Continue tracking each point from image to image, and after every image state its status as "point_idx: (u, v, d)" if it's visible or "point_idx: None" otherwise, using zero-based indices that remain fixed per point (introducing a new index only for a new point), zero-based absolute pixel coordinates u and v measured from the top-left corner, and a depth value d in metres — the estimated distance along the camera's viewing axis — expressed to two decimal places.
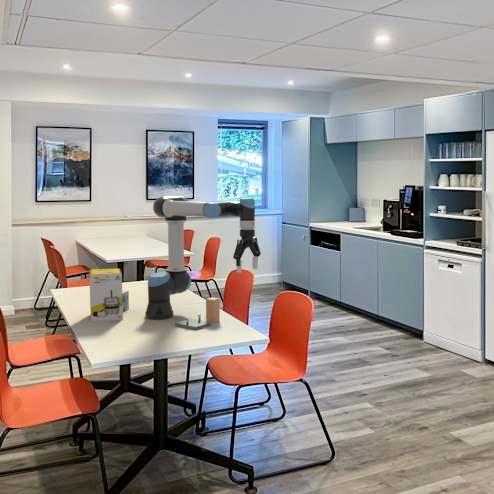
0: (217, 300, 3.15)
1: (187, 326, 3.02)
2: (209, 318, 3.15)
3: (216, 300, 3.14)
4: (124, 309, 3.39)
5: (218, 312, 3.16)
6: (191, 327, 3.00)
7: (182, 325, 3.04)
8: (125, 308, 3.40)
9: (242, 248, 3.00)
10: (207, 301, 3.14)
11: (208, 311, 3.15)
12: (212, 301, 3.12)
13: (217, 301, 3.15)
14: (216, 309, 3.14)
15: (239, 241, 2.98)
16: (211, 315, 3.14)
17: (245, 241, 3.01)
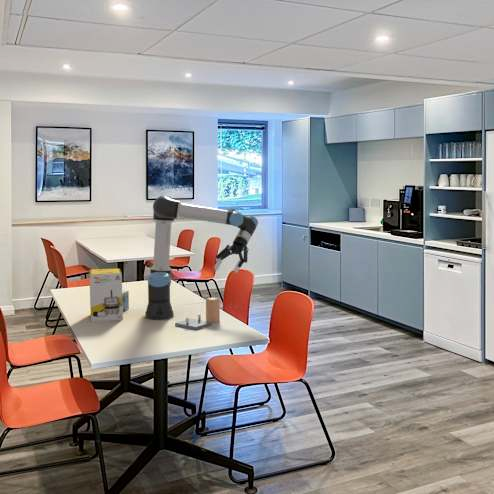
0: (217, 300, 3.15)
1: (187, 326, 3.02)
2: (209, 318, 3.15)
3: (216, 300, 3.14)
4: (124, 309, 3.39)
5: (218, 312, 3.16)
6: (191, 327, 3.00)
7: (182, 325, 3.04)
8: (125, 308, 3.40)
9: (241, 254, 3.28)
10: (207, 301, 3.14)
11: (208, 311, 3.15)
12: (212, 301, 3.12)
13: (217, 301, 3.15)
14: (216, 309, 3.14)
15: (247, 249, 3.28)
16: (211, 315, 3.14)
17: None
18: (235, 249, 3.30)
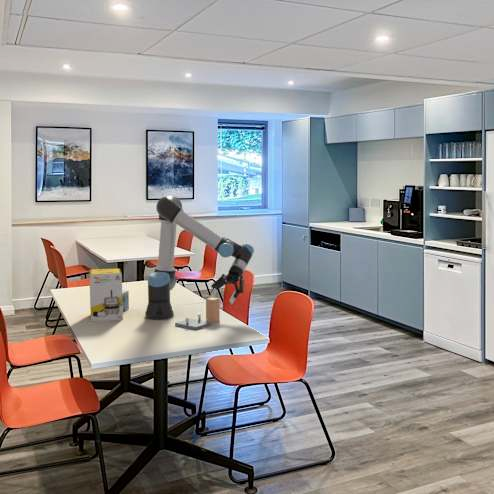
0: (217, 300, 3.15)
1: (187, 326, 3.02)
2: (209, 318, 3.15)
3: (216, 300, 3.14)
4: (124, 309, 3.39)
5: (218, 312, 3.16)
6: (191, 327, 3.00)
7: (182, 325, 3.04)
8: (125, 308, 3.40)
9: (237, 284, 3.22)
10: (207, 301, 3.14)
11: (208, 311, 3.15)
12: (212, 301, 3.12)
13: (217, 301, 3.15)
14: (216, 309, 3.14)
15: (243, 279, 3.22)
16: (211, 315, 3.14)
17: None
18: (231, 279, 3.25)
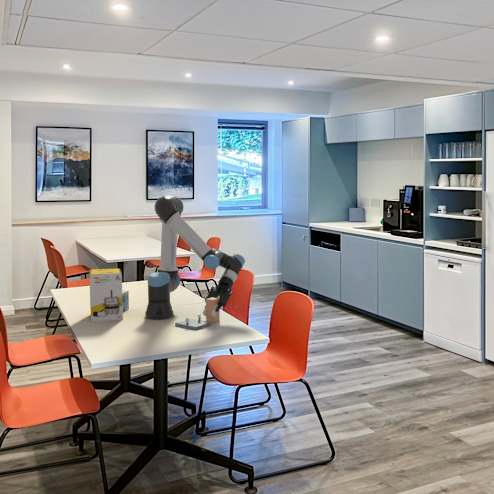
0: (217, 300, 3.15)
1: (187, 326, 3.02)
2: (209, 318, 3.15)
3: (216, 300, 3.14)
4: (124, 309, 3.39)
5: (218, 312, 3.16)
6: (191, 327, 3.00)
7: (182, 325, 3.04)
8: (125, 308, 3.40)
9: (223, 296, 3.18)
10: (207, 301, 3.14)
11: (208, 311, 3.15)
12: (212, 301, 3.12)
13: (217, 301, 3.15)
14: None
15: (231, 292, 3.17)
16: None
17: None
18: (221, 289, 3.20)
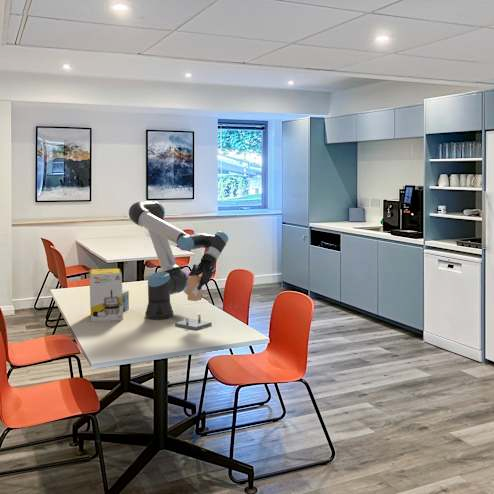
0: (199, 278, 3.04)
1: (187, 326, 3.02)
2: (191, 296, 3.04)
3: (198, 278, 3.04)
4: (124, 309, 3.39)
5: (200, 290, 3.06)
6: (191, 327, 3.00)
7: (182, 325, 3.04)
8: (125, 308, 3.40)
9: (206, 274, 3.08)
10: (189, 279, 3.04)
11: (189, 290, 3.04)
12: (194, 279, 3.02)
13: (199, 279, 3.04)
14: None
15: (214, 270, 3.07)
16: (192, 293, 3.03)
17: None
18: (203, 267, 3.10)
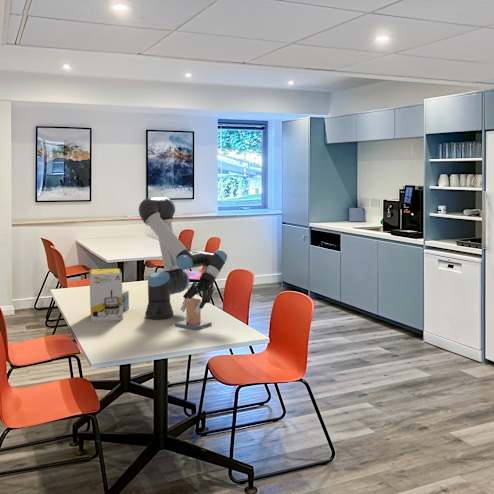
0: (198, 301, 3.05)
1: (187, 326, 3.02)
2: (189, 319, 3.05)
3: (197, 301, 3.05)
4: (124, 309, 3.39)
5: (199, 313, 3.07)
6: (191, 327, 3.00)
7: (182, 325, 3.04)
8: (125, 308, 3.40)
9: (206, 293, 3.08)
10: (187, 302, 3.05)
11: (188, 313, 3.05)
12: (192, 302, 3.03)
13: (198, 302, 3.05)
14: None
15: (213, 288, 3.08)
16: (191, 316, 3.04)
17: None
18: (202, 286, 3.10)
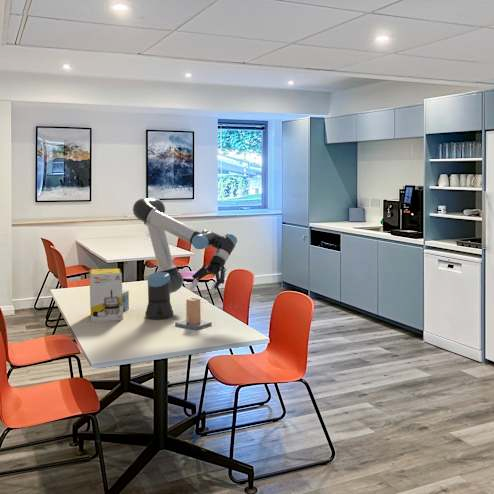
0: (198, 301, 3.05)
1: (187, 326, 3.02)
2: (189, 319, 3.05)
3: (197, 301, 3.05)
4: (124, 309, 3.39)
5: (199, 313, 3.07)
6: (191, 327, 3.00)
7: (182, 325, 3.04)
8: (125, 308, 3.40)
9: (218, 274, 3.13)
10: (187, 302, 3.05)
11: (188, 313, 3.05)
12: (192, 302, 3.03)
13: (198, 302, 3.05)
14: (196, 310, 3.05)
15: (224, 269, 3.13)
16: (191, 316, 3.04)
17: None
18: (212, 269, 3.16)
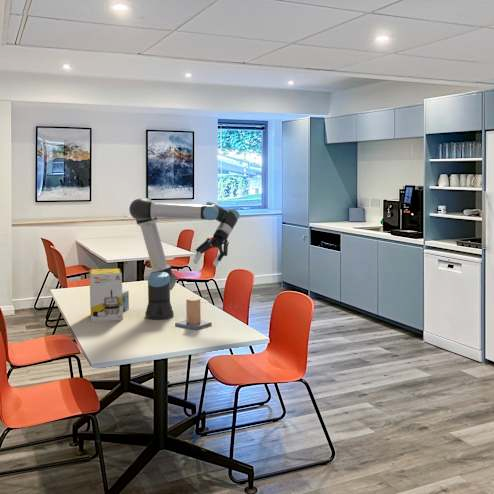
0: (198, 301, 3.05)
1: (187, 326, 3.02)
2: (189, 319, 3.05)
3: (197, 301, 3.05)
4: (124, 309, 3.39)
5: (199, 313, 3.07)
6: (191, 327, 3.00)
7: (182, 325, 3.04)
8: (125, 308, 3.40)
9: (221, 247, 3.21)
10: (187, 302, 3.05)
11: (188, 313, 3.05)
12: (192, 302, 3.03)
13: (198, 302, 3.05)
14: (196, 310, 3.05)
15: (227, 242, 3.21)
16: (191, 316, 3.04)
17: None
18: (215, 242, 3.23)
